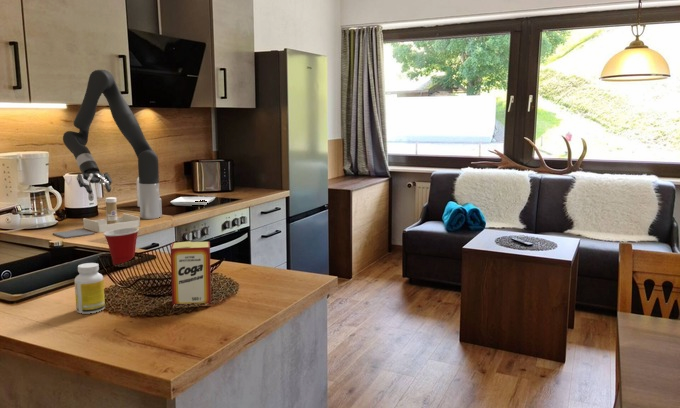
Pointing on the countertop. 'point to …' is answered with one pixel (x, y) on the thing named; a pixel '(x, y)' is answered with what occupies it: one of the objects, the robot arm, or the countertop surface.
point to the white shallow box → (122, 223)
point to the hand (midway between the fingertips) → (100, 191)
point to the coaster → (73, 233)
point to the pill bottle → (89, 289)
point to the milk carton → (138, 193)
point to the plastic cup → (122, 244)
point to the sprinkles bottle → (111, 210)
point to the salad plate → (191, 201)
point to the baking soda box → (190, 272)
